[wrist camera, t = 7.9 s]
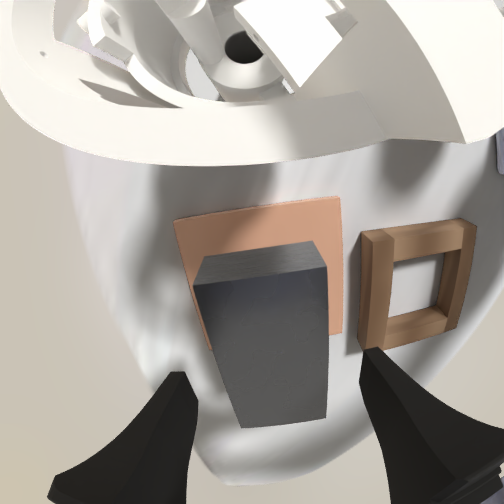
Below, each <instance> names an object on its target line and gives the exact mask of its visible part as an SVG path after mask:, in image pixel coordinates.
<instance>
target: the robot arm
mask: <svg viewBox="0 0 504 504" xmlns="http://www.w3.org/2000/svg"><path fill="white" fill-rule="evenodd" d="M496 140H497V163H498V172H499V173H500V174H504V127H503V128H502V129H500V130H499V131H498V132H496ZM359 385H360V389H361V393H362V397H363V400H364V404H365V406H366V409H367V412H368V414H369V417H370V419H371V422H372V425H373V427H374V430H375V432H376V435H377V438H378V441H379V443H380V446H381V449H382V453H383V458H384V463H385V467H386V472H387V477H388V484H389V492H390V500H391V504H504V476H503V477H502V478H500V477H499V474H500V473H501V468H500V465H501V464H502V463H503V462H504V429H502V428H498V427H494V426H491V425H488V424H485V423H483V422H480V421H477V420H475V419H473V418H471V417H468V416H467V415H464V414H462V413H460V412H458V411H456V410H455V409H453V408H451V407H450V406H448V405H446V404H445V403H443V402H442V401H440V400H439V399H437V398H436V397H434V396H433V395H432V394H430V393H429V392H428V391H426V390H425V389H424V388H423V387H421V386H420V385H419V384H418V383H417V382H415V381H414V380H413V379H412V378H411V377H410V376H409V375H407V374H406V373H405V372H404V371H403V370H402V369H401V368H400V367H399V366H398V365H397V364H396V363H394V362H393V361H392V360H391V359H390V358H389V357H388V356H387V355H386V354H385V353H384V352H383V351H382V350H381V349H380V348H379V347H378V346H377V347H373V348H369V349H364V351H363V358H362V365H361V372H360V378H359ZM197 417H198V399H197V397H196V395H195V393H194V391H193V389H192V387H191V384H190V382H189V380H188V378H187V376H186V374H185V371H184V372H170V374H169V375H168V376H167V377H166V379H165V380H164V381H163V383H162V384H161V385H160V387H159V388H158V390H157V391H156V392H155V394H154V395H153V396H152V398H151V399H150V400H149V402H148V403H147V404H146V405H145V406H144V408H143V409H142V410H141V411H140V413H139V414H138V415H137V416H136V417H135V418H134V419H133V421H132V422H131V423H130V424H129V425H128V426H127V427H126V428H125V429H124V430H123V431H122V432H121V433H120V434H119V435H118V436H117V437H116V438H115V439H114V440H113V441H111V442H110V443H109V444H108V445H107V446H105V447H104V448H103V449H102V450H100V451H99V452H97V453H96V454H95V455H93V456H92V457H90V458H89V459H87V460H86V461H84V462H82V463H80V464H79V465H77V466H75V467H73V468H71V469H69V470H67V471H65V472H63V473H60V474H58V475H56V476H55V477H54V480H53V482H52V485H51V488H50V490H49V493H48V496H47V498H48V499H49V500H50V501H52V502H53V503H55V504H186V488H187V472H188V465H189V460H190V455H191V450H192V445H193V440H194V435H195V430H196V425H197Z"/></svg>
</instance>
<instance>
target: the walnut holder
mask: <svg viewBox="0 0 504 504" xmlns="http://www.w3.org/2000/svg"><path fill="white" fill-rule="evenodd" d="M476 230H477V226H476V225H474V224H472V223H470V222H468V221H466V220H464V219H462V218H458V219H451V220H443V221H436V222H428V223H421V224H413V225H406V226H398V227H391V228H383V229H376V230H369V231H361V289H360V309H359V324H358V336H357V339H358V342H359V344H360V346H361V348H362V350H363V351H364V349H369V348H373V347H377V346H378V347H379V348H380V349H381V350H382V351H384V350H388V349H391V348H395V347H399V346H402V345H406V344H409V343H412V342H416V341H419V340H422V339H425V338H428V337H432V336H435V335H438V334H440V333H443V332H446V331H449V330H452V329H455V328H456V327H457V324H458V320H459V317H460V313H461V310H462V306H463V302H464V298H465V294H466V290H467V285H468V280H469V276H470V270H471V265H472V259H473V253H474V246H475V239H476ZM442 252H445V256H444V263H443V270H442V277H441V283H440V288H439V293H438V298H437V303H436V305H435V306H432V307H428V308H425V309H421V310H417V311H413V312H410V313H406V314H402V315H398V316H394V317H390V318H388V313H389V305H390V297H391V287H392V276H393V263H394V262H395V261H400V260H406V259H411V258H417V257H422V256H427V255H432V254H437V253H442Z"/></svg>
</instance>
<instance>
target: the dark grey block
mask: <svg viewBox="0 0 504 504" xmlns="http://www.w3.org/2000/svg"><path fill="white" fill-rule="evenodd" d="M192 286H193V290H194V293H195V297H196V300H197V303H198V307H199V310H200V313H201V316H202V319H203V323H204V326H205V329H206V332H207V335H208V338H209V341H210V344H211V347H212V350H213V353H214V356H215V359H216V362H217V365H218V368H219V371H220V373H221V376H222V379H223V382H224V384H225V387H226V390H227V393H228V395H229V398H230V401H231V403H232V406H233V408H234V411H235V413H236V416H237V419H238V421H239V424H240V426H241V428H254V427H266V426H276V425H285V424H292V423H299V422H306V421H312V420H318V419H323V418H326V410H327V392H328V363H329V304H328V273H327V265H326V263H325V262H324V260H323V258H322V256H321V254H320V253H319V251H318V249H317V247H316V246H315V244H314V242H313V240H312V241H305V242H299V243H292V244H285V245H278V246H271V247H264V248H258V249H251V250H244V251H237V252H231V253H224V254H217V255H210V256H204V258H203V261H202V263H201V265H200V268H199V270H198V273H197V275H196V278H195V280H194V283H193V285H192Z"/></svg>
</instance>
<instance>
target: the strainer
mask: <svg viewBox="0 0 504 504" xmlns="http://www.w3.org/2000/svg"><path fill="white" fill-rule="evenodd" d="M55 1H56V0H0V90H1V92H2V94H3V96H4V97H5V99H6V100H7V102H8V103H9V105H10V106H11V107H12V108H13V110H14V111H15V112H16V113H17V114H18V115H19V116H20V117H21V118H22V119H23V120H24V121H25V122H27V123H28V124H29V125H30V126H32V127H33V128H34V129H36V130H37V131H39V132H40V133H42V134H44V135H46V136H48V137H49V138H51V139H53V140H55V141H57V142H60V143H62V144H64V145H67V146H69V147H72V148H75V149H78V150H81V151H84V152H87V153H91V154H95V155H99V156H103V157H108V158H113V159H118V160H124V161H131V162H139V163H148V164H159V165H176V166H233V165H251V164H264V163H275V162H284V161H292V160H300V159H307V158H313V157H319V156H325V155H330V154H336V153H340V152H345V151H350V150H354V149H358V148H362V147H366V146H369V145H373V144H376V143H380V142H383V141H386V140H389V139H415V140H431V141H443V142H454V143H463V144H468V143H471V142H475V141H479V140H483V139H486V138H489V137H491V136H492V135H494V134H495V133H496V132H498V131H499V130H500V129H502V128H503V127H504V17H503V16H502V14H501V12H500V11H499V9H498V8H497V6H496V4H495V3H494V1H493V0H90V1H89V6H88V11H87V12H86V13H84V14H83V15H82V16H81V17H80V18H79V19H78V20H77V23H78V24H79V26H80V27H81V28H82V29H83V30H84V31H85V32H86V33H87V34H89V36H90V39H91V42H92V45H93V47H95V48H97V49H99V50H102V51H104V52H105V53H107V54H109V55H111V56H113V57H115V58H117V59H119V60H121V61H123V62H124V64H125V66H126V67H127V69H128V70H129V72H128V71H126V70H124V69H122V68H120V67H118V66H116V65H113V64H111V63H109V62H107V61H105V60H103V59H100V58H98V57H96V56H93V55H91V54H89V53H87V52H84V51H82V50H79V49H77V48H74V47H72V46H69V45H67V44H64V43H62V42H59V41H56V40H55V37H54V30H53V13H54V6H55ZM190 48H191V50H192V51H193V52H194V54H195V55H196V57H197V58H198V61H199V63H200V65H201V67H202V69H203V70H204V72H205V73H206V74H207V76H208V77H209V79H210V80H211V82H212V83H213V84H214V86H215V87H216V89H217V91H218V92H219V94H220V95H221V97H222V98H223V99H224V101H225V102H220V101H212V100H206V99H201V98H197V97H195V96H194V94H193V93H192V91H191V89H190V87H189V85H188V82H187V78H186V72H185V66H186V59H187V55H188V52H189V50H190ZM284 78H285V80H286V81H287V82H288V84H289V85H290V87H291V88H292V89H293V91H294V93H292V94H290V93H289V92H288V91H287V89H286V88H285V86H284V85H283V84H282V81H283V79H284Z"/></svg>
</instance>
